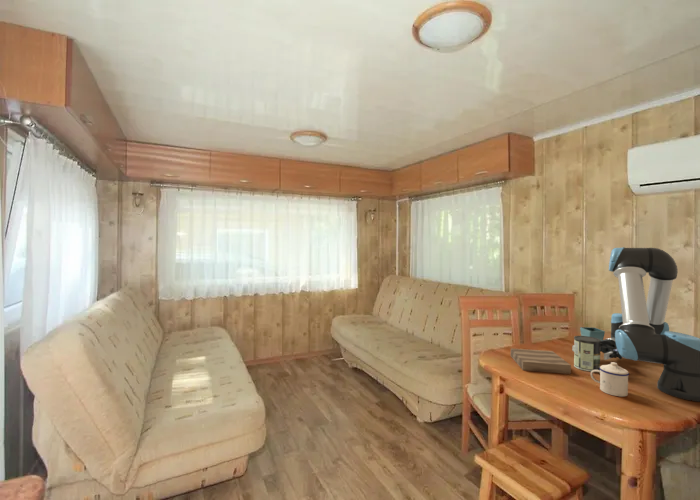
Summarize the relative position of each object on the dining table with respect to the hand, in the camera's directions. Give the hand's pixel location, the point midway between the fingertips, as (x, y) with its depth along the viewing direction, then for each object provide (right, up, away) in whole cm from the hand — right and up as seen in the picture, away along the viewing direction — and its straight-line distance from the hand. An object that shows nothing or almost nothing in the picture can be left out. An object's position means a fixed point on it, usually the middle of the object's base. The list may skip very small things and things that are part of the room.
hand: (588, 352), depth 156 cm
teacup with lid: (-11, -7, -26) cm, 29 cm away
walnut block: (-22, -7, +3) cm, 24 cm away
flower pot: (+29, -7, +37) cm, 48 cm away
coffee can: (-2, -7, -2) cm, 8 cm away
